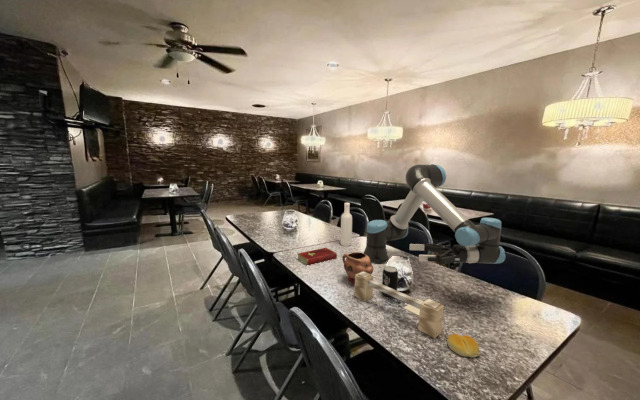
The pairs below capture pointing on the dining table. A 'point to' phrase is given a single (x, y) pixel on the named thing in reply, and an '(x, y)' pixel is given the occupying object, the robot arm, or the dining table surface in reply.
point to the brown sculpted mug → (356, 265)
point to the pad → (413, 308)
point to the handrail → (428, 309)
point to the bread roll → (463, 345)
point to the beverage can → (390, 278)
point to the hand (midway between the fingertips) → (413, 252)
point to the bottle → (346, 226)
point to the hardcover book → (317, 256)
